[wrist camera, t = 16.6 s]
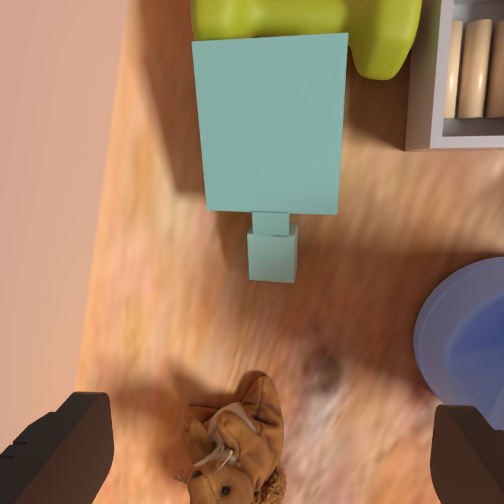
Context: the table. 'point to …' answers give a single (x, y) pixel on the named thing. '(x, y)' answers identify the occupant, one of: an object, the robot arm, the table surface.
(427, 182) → the table surface
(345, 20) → the dumbbell
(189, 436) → the stuffed squirrel
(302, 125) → the teal flat paddle shape
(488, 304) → the water jug
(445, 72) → the tub
